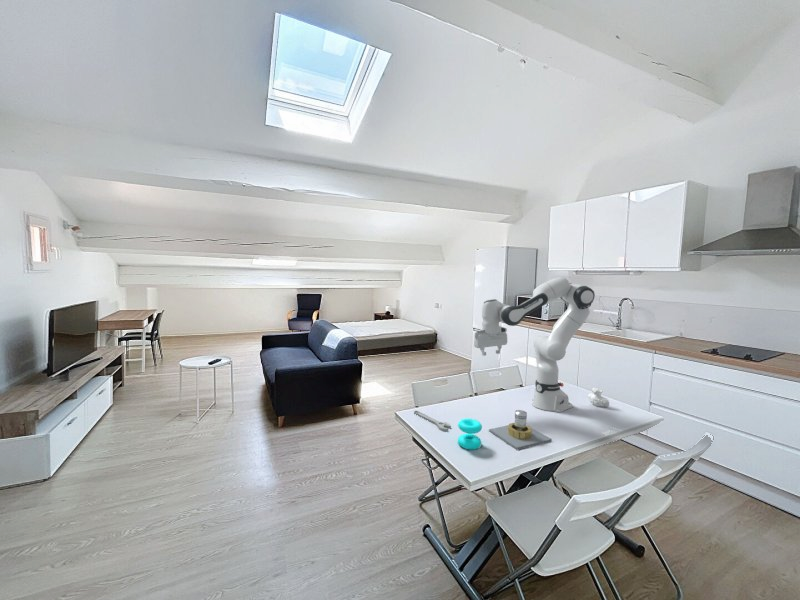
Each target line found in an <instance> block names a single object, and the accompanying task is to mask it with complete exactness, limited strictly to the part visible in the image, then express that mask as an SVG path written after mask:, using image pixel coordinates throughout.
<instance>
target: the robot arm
mask: <svg viewBox="0 0 800 600" xmlns="http://www.w3.org/2000/svg"><path fill="white" fill-rule="evenodd" d="M595 295H596V294H595V291H594V290H593V289H592V288H591V287H589V286H587V285H583V284H581V283H572V282H569V280H568V279H567V278H566V277H563V276H557V277H555V278H551V279H550V280H546V281H545V282H543V283H541V284H540V285H538V286H537V287H535V288H534V289H533V291H532V297H531V298H529V299H527V300H526V301H524V302H522V303H520V304H519V305H508V304H505V303H502V302H500V301H499V300H498V299H494V298H493V299H487V300H485V301H484V302H483V303H482V307H481V308H482V309H481V316H482V322H481V323H482V325H481V327H482V329H481V330H477V331H476V332H475V333H474V340H473V345H474V346H473V347H474V348H477V349H479V350H480V352H481V355H482V356H483V357H485V356H487V352H486V351H485V348H490V347H491V348H492V347H497V349H496V350H495V354H497V355H499V354H501V349H502V346H506V345H507V344H508V333H507V332H508V329H507V328H506V327H504V326H501V325H500V323H503V324H504V323H505V325H507V326H510V327H511V326H512V327H514V326H515V327H516V326H518V325H519V324H520V323H522V321H523V320H524V319H525V318H526V317H527V316H528V315H530V314H532V313H533V312H535V311H536V310H538V309H540V308H541V307H544V306H546V305H548V304H551V303H553V302H555V301H557V300H559V299H561V300H563V302H566V303H568V306H567V309H566V310H565V311H564V312H563V314H562V315H560V317H559V318H558V319H557V320H556V321H555V323H554V324H553V327H552V330H551V332H550V334H549V336H548V335H540V336H538V337H536V338H535V339H534V341H533V348H534V352H535V359H536V360H535V361H536V380H535V389H534V394H533V398H532V406H533V407H535V408H536V409H539V410H544V411H548V412H555V413H561V412H563V411H568V410H569V409H572V408H573V407H574V404H573V403H571V402H570V400H569V395H568V394H567V393H566V392H565V391H564V390H562V389H561V388H563V387H564V383H563V382H559V366H558V364H557V361H560V360H562V359H564V358H565V355H566V349H567V347H568V345H569V343H570V341H571V339H572V338H573V337H574V336H575V334H576V333H577V332H578V331H579V329H580V328H581V327H582V326H583V324H584V323H585V322H586V321H587V319H588V317H589V315H590V311H591V310H590V307H591V306H592V303H593V302H594V300H595V297H596V296H595Z"/></svg>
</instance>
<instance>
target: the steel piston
mask: <svg viewBox="0 0 800 600" xmlns="http://www.w3.org/2000/svg"><path fill="white" fill-rule="evenodd" d="M527 414H528V412H527V411H525V410H523V409H522V410H521V409H516V410H515V411H514V423H515V425H514V429H515V430H518V431H526V425H527V419H528V417H527V416H528V415H527Z"/></svg>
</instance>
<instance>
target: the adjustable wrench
mask: <svg viewBox="0 0 800 600" xmlns="http://www.w3.org/2000/svg"><path fill="white" fill-rule="evenodd" d="M413 414H414V415H415V414H416V415H415V416H417V415H418V416H417V417H419V416H420V417H419V418H421V417H422V419H423V418H424V419H423V420H425V419H426V420H425V421H427V420H428V421H427V422H429V423H431V424H433V425H435V426H436V427H437V428H438V430H439V431H442V432H448V431H449V429H451V428H452V425H451V424H450V423H448V422H445V421H444V422H443V421H439V420H436V419H434V418H433V417H431V416H429V415H427V414H425V413H422V412H421V411H419V410H414V411H413Z"/></svg>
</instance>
